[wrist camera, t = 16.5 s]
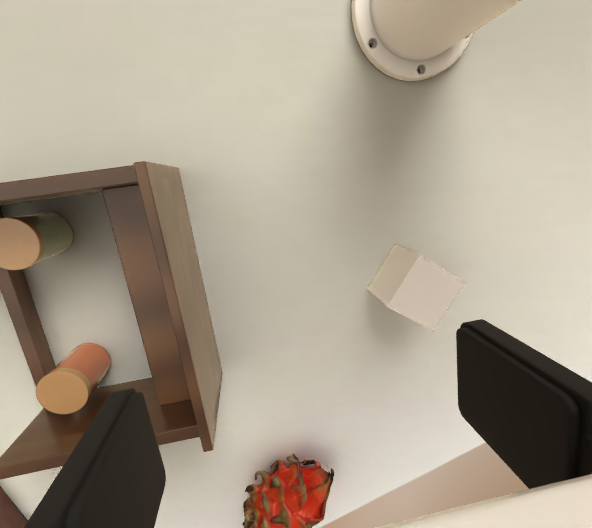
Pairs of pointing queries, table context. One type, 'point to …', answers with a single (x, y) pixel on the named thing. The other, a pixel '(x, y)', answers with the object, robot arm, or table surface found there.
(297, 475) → the dragon fruit
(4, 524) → the notebook
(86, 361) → the terracotta jar
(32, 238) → the sage jar
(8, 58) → the table surface
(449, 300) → the light grey cube
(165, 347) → the spice rack
